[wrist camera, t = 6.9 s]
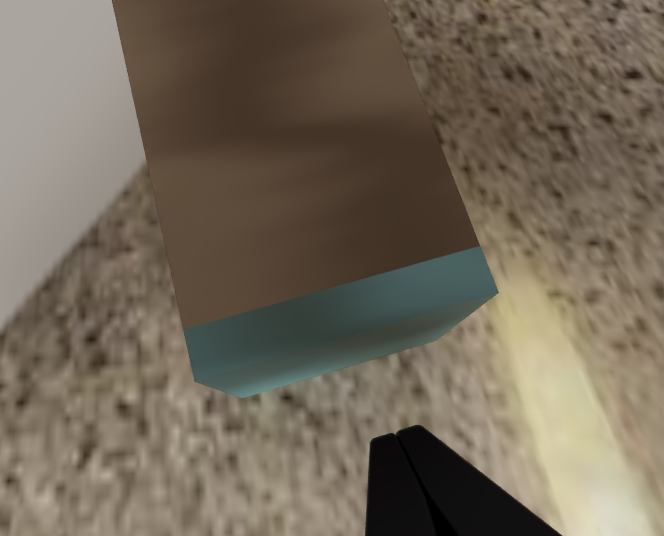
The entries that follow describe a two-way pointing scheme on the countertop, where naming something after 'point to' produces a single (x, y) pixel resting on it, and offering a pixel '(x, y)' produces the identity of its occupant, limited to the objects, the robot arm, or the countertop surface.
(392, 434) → the robot arm
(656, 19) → the countertop surface
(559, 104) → the countertop surface
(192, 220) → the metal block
